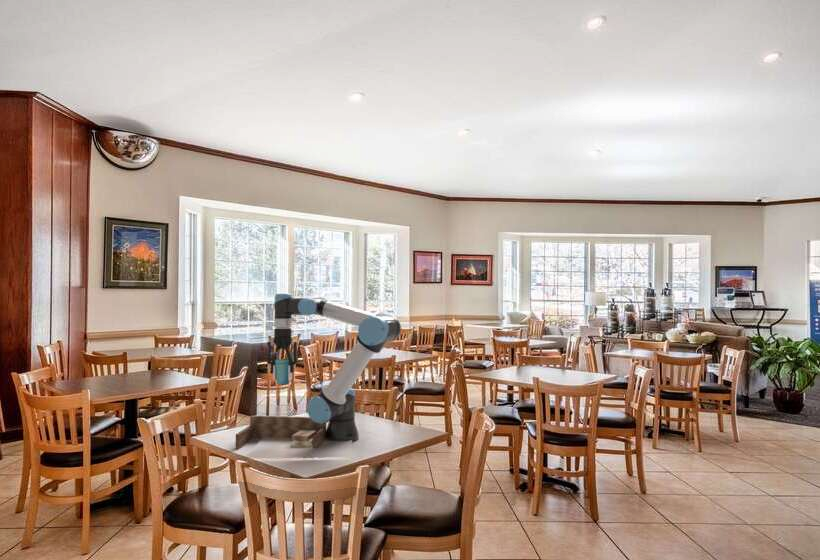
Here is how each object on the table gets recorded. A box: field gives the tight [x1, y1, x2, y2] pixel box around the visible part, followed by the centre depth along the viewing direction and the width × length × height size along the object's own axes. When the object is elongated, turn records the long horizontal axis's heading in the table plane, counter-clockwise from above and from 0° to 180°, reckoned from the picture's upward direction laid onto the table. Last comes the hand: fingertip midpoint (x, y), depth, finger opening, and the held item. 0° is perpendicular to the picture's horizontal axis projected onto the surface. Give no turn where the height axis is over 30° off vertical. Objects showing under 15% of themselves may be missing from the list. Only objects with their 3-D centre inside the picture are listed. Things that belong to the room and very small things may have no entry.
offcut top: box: [291, 430, 317, 441], centre depth 234 cm, size 7×10×2 cm
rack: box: [235, 415, 327, 450], centre depth 235 cm, size 34×18×10 cm, turn 85°
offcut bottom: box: [289, 443, 313, 448], centre depth 233 cm, size 9×13×2 cm
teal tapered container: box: [270, 350, 294, 385], centre depth 242 cm, size 14×8×15 cm, turn 148°
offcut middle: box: [292, 438, 313, 447], centre depth 234 cm, size 8×11×2 cm
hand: (282, 379), depth 242 cm, fingers closed on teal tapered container, 6 cm apart
